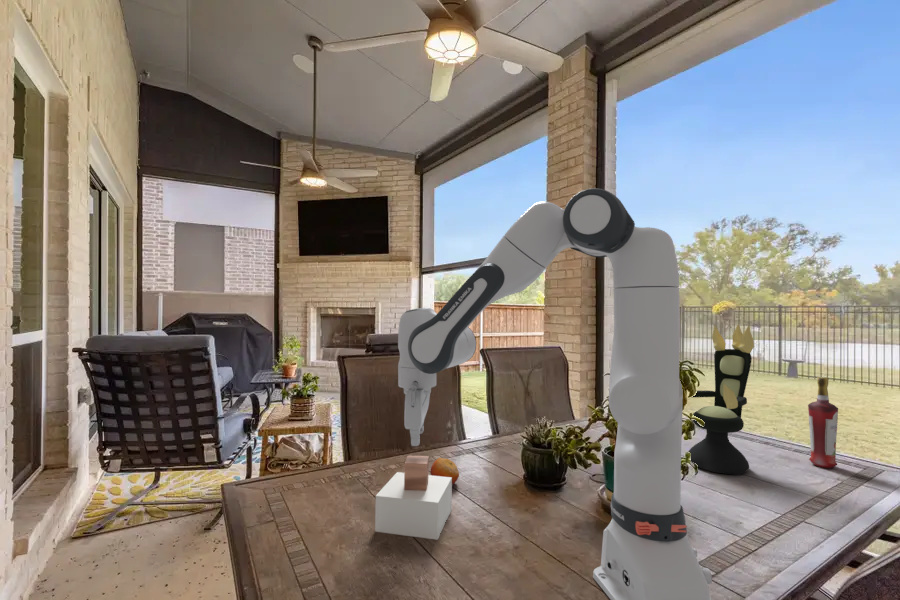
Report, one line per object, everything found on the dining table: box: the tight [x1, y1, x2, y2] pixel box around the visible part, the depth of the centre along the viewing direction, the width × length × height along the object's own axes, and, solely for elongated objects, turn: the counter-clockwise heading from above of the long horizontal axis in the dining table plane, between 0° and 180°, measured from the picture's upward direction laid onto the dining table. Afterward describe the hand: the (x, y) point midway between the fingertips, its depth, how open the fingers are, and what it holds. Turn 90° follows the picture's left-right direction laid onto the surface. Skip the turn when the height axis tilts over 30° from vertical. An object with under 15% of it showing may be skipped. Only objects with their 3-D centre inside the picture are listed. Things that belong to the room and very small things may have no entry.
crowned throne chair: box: [687, 323, 755, 475], centre depth 139 cm, size 19×22×45 cm
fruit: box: [430, 457, 460, 486], centre depth 120 cm, size 8×8×8 cm
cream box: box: [374, 471, 453, 541], centre depth 100 cm, size 14×14×8 cm
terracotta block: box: [404, 455, 430, 491], centre depth 100 cm, size 5×5×6 cm
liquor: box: [807, 376, 839, 469], centre depth 139 cm, size 7×7×28 cm
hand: (417, 438), depth 100 cm, fingers open, 8 cm apart
